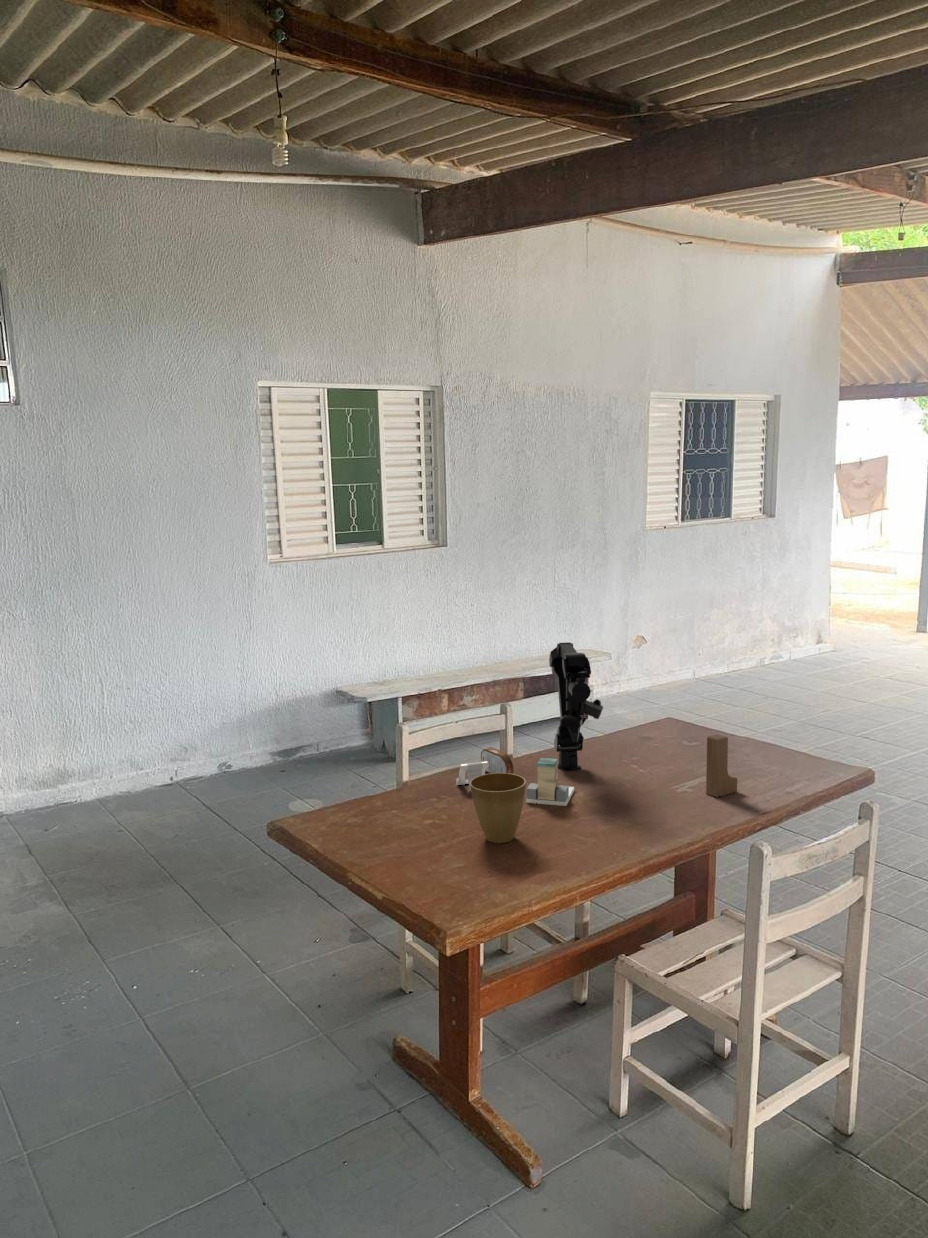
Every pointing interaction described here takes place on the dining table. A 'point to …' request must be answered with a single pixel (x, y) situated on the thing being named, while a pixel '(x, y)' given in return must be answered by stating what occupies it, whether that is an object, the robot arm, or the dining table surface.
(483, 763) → the portable electronic device stand
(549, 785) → the peg
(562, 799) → the block holder base
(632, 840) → the dining table surface
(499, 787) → the plant pot
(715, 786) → the wooden block
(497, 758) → the tin
